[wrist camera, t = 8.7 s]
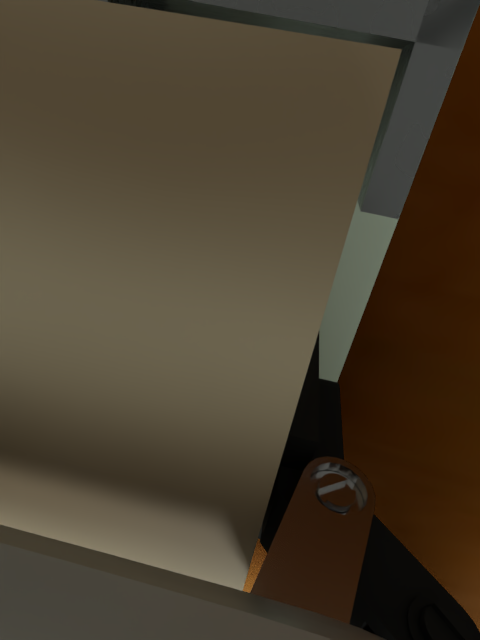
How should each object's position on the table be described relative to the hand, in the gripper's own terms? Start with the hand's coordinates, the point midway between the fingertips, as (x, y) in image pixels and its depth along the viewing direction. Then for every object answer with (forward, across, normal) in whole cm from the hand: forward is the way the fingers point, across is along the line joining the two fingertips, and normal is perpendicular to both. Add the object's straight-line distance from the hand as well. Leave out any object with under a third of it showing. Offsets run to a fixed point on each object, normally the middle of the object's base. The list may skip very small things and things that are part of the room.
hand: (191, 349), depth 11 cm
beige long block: (+1, 0, 0) cm, 1 cm away
